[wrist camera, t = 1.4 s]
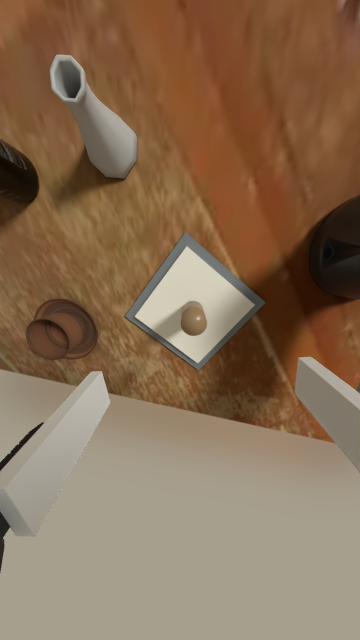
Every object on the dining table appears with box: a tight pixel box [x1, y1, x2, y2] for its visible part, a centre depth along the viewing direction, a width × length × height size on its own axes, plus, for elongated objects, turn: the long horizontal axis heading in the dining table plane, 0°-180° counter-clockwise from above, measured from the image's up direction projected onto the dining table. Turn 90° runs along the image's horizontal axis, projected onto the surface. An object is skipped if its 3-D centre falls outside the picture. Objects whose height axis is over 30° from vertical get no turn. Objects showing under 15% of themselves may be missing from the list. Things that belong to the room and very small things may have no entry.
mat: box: [125, 232, 266, 370], centre depth 31 cm, size 18×18×1 cm
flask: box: [50, 55, 137, 179], centre depth 20 cm, size 7×7×10 cm
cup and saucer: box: [26, 299, 98, 360], centre depth 31 cm, size 12×12×6 cm
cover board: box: [135, 246, 255, 363], centre depth 27 cm, size 15×15×8 cm
